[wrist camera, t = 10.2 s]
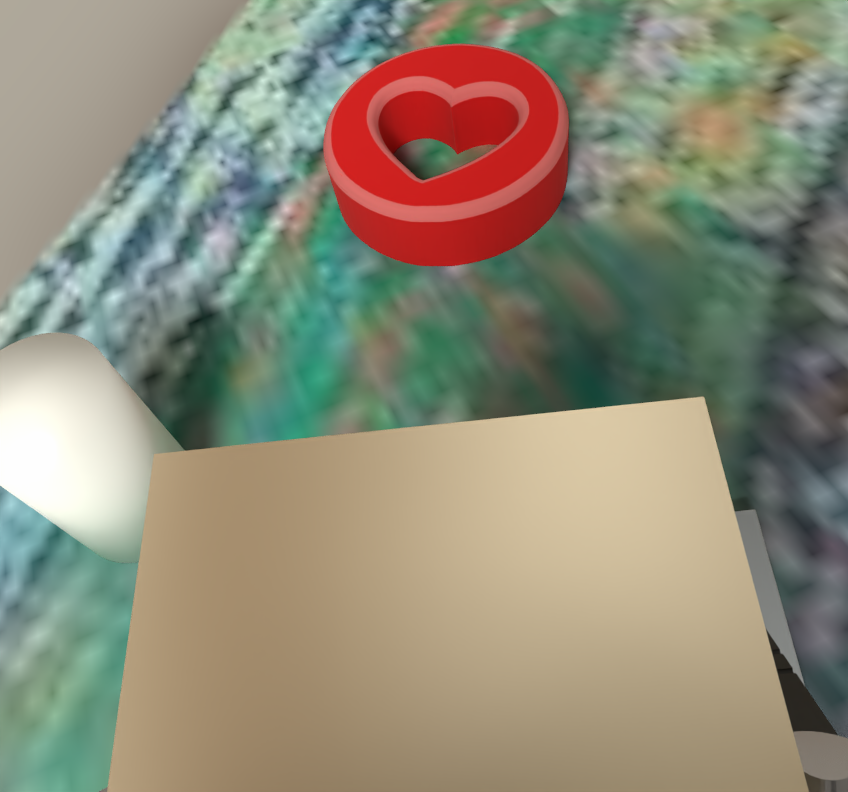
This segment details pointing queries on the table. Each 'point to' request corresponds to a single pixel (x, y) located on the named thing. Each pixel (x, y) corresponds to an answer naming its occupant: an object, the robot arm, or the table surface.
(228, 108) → the table surface
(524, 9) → the table surface
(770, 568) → the grey mat
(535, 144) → the decorative ornament
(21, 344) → the white cylinder
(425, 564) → the beech block
